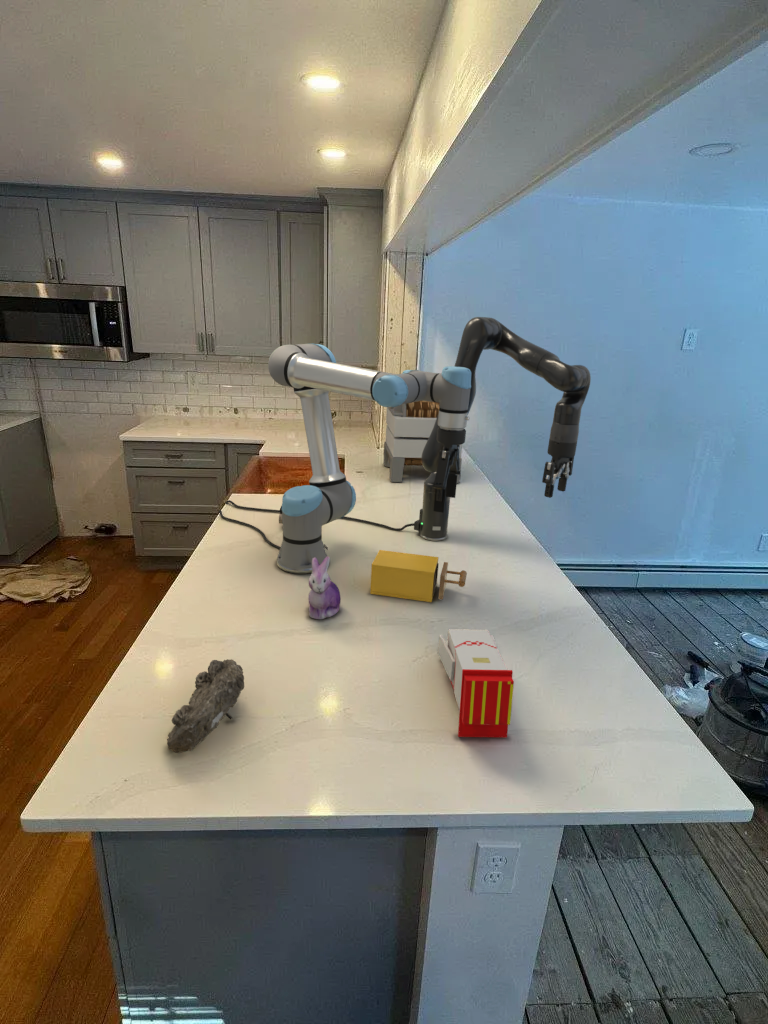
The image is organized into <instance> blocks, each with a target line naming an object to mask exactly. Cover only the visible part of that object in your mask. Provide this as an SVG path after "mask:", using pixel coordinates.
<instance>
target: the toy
mask: <svg viewBox="0 0 768 1024" xmlns="http://www.w3.org/2000/svg"><path fill="white" fill-rule="evenodd" d="M446 640H447V643H446V641H445V639H444V636H443V635H442V634H439V637H438V646H437V656H438V657H439V659H440V661H441V663H442V666H443V668H444V670H445V672H446V674H447V677H448V679H449V681H450V684H451V687H452V690H453V693H454V697H455V701H456V705H457V708H458V711H459V714H458V715H459V716H458V730H457V731H458V732H457V737H458V738H508V731H509V726H510V725H511V717H512V707H513V697H514V696H513V695H514V684H515V680H514V679H513V673H514V671H513V670H512V669H508V667H507V665H506V662H505V661H504V659H503V658H502V655H501V653H500V651H499V649H498V647H497V643H496V639H495V637H494V635H493V634H491V632H490V631H489V629H467V628H466V629H465V628H463V629H461V628H460V629H459V628H448V630H447V639H446Z"/></svg>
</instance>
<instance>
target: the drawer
mask: <svg viewBox="0 0 768 1024" xmlns="http://www.w3.org/2000/svg"><path fill="white" fill-rule="evenodd" d="M448 569H449V561H444V562H443V565H442V567H441V572H440V577H439V585H438V576H439V575H438V574H439V562H438V563H437V566H436V570H435V573H434V582H433V595H432V596H433V597H434V595H435V592H436V588H437V585H438V586H439V587H438V600H444V595H445V593H446V592H445V591H446V588H447V584H454V585H455V584H456V585H458V586H459V587H460V588H464V587H465V585H466V581H467V576H468V575H467V574H468V573H467V571H466V570H464V569H463V570H460V571H453V570H448ZM448 574H450V575H459V578H458V580H451V579H448Z"/></svg>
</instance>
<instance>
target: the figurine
mask: <svg viewBox="0 0 768 1024" xmlns="http://www.w3.org/2000/svg"><path fill="white" fill-rule="evenodd" d="M330 561H331V558H330V556H328V555H327V557H326V558H325V559H324V560H323V562H322V563H321V565H320V564H319V562H318V560H317V559H316V558H315V557H314V558H313V559H312V573H310V576H309V579H308V587H309V588H310V591H309V593H308V597H307V598H308V612H309V614H308V615H309V617H310V618H312V619H315V620H324V619H326V618H332V617H333V616H335V615H336V614H337V613H338V612H339V611H340V607H341V599H342V598H341V592H340V589H339V587H338V585H337V584H336V583H335V582H334V581H332V580H331V577H330V575H329V574H328V571H329V566H330Z"/></svg>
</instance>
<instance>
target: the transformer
mask: <svg viewBox="0 0 768 1024" xmlns="http://www.w3.org/2000/svg"><path fill="white" fill-rule="evenodd" d="M438 413H439V403H436V402H430V401H417V402H412V403H407V404H403V405H399V406H396V407H386V413H385V414H386V415H385V423H386V428H385V438H384V442H383V466H384V467H388V468H389V475H388V476H389V477H388V478H389V480H390V482H391V483H402V482H403V475H404V469H405V466H406V467H407V466H411V467H412V466H413V467H415V466H416V467H417V466H418V467H423V465H422V461H421V457H422V452H423V449H424V447H425V445H426V443H427V441H428V439H429V436H430V434H431V432H432V430H433V427H434V424H435V422H436V419H437V416H438ZM462 453H463V444H461V445H460V447H459V460H460V470H459V471H461V472H462V461H463V460H462ZM456 475H457V474H456ZM459 483H461V473H460V475H457V484H459Z"/></svg>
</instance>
